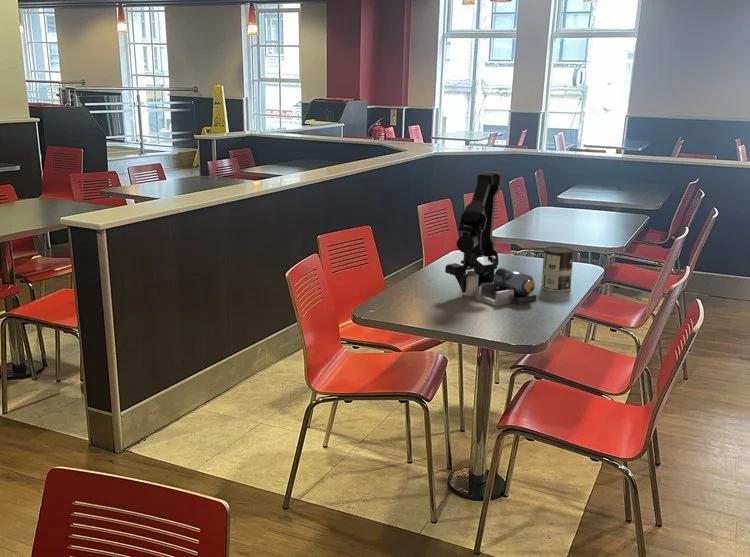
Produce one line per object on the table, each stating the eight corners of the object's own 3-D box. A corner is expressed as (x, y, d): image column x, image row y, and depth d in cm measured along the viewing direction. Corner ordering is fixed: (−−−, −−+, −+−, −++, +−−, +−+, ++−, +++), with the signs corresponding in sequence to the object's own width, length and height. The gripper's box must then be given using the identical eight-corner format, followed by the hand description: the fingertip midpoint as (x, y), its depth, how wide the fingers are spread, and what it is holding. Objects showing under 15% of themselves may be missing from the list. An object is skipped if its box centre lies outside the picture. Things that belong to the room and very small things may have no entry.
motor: (471, 297, 235) (472, 271, 232) (506, 290, 243) (508, 265, 241) (502, 308, 223) (503, 281, 220) (538, 301, 231) (539, 275, 229)
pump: (460, 293, 239) (461, 270, 237) (471, 291, 242) (472, 268, 240) (469, 297, 235) (470, 274, 233) (480, 295, 238) (481, 272, 235)
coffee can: (569, 285, 250) (572, 247, 247) (571, 293, 241) (575, 253, 237) (540, 283, 252) (543, 245, 249) (541, 291, 243) (544, 251, 239)
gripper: (466, 254, 223) (464, 301, 227) (509, 247, 232) (507, 292, 236) (444, 248, 232) (443, 293, 236) (487, 241, 241) (485, 285, 245)
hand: (470, 291), depth 238 cm, fingers open, 6 cm apart
